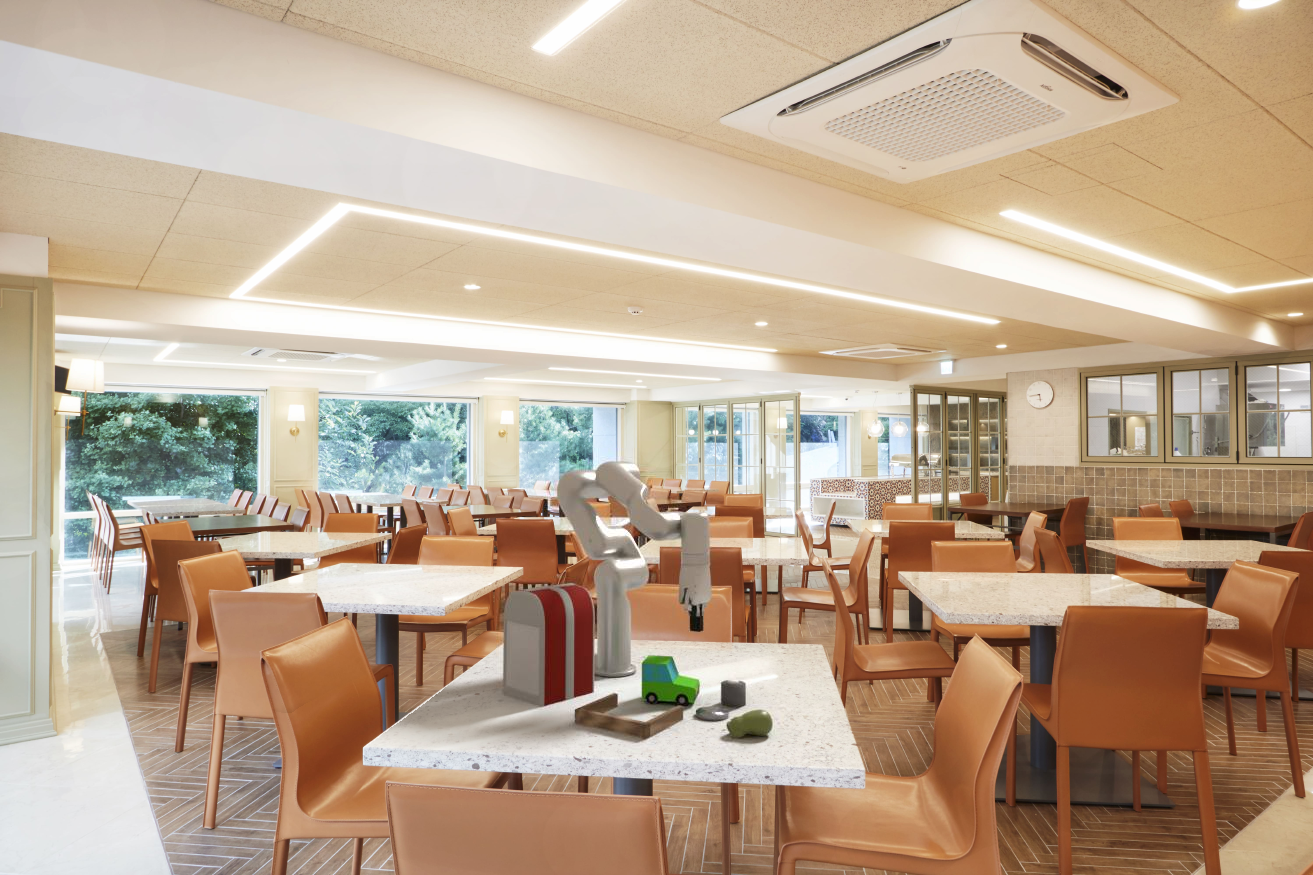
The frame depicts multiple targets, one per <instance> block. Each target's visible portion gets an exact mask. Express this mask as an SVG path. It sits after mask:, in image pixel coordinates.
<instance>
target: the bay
mask: <svg viewBox="0 0 1313 875" xmlns="http://www.w3.org/2000/svg"><path fill="white" fill-rule="evenodd" d="M618 702H619V693H615V692H613V693H611V694H608V695H606V696H603V697H601V698H599V699H596V700H594V701H591V702H588V703H586V704H585V705H582V706H580V707H577V708H574V724H577V725H582V726H587V727H591V728H596V729H601V730H606V731H610V732H614V733H618V734H623V735H627V736H632V737H636V738H642V739H645V740H647V739H649V738H651V737H654V736H655V735H657V734H659V733H661V732H662V731H664V730H666V729H668V728H670V727H672V726H674V725H676V724H678V723H679V722H682V721H683V720H684V706H680V705H678V704H677V706H674V707H672V708H670V709H669V710H667V711H665V712H662V713H661V714H659V715H657V716H655V717H653V718H651V719H649V720H646V721H642V720H637V719H633V718H632V719H631V718H628V717H623V716H617V715H613V714H608V713H606V712H609V711H610V710H613V709H615V708H617V707H618V706H619V703H618Z"/></svg>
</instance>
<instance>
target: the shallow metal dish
mask: <svg viewBox="0 0 1313 875" xmlns="http://www.w3.org/2000/svg"><path fill="white" fill-rule="evenodd" d="M729 711H730V710H728V709H727V708H726V707H725V708H724V707H722V706H714V705H713V706H702V707H699V708H697V709H696V710H695V717H696V718H697V719H699V720H702V721H706V722H707V721H708V722H709V721H710V722H719V721H724V720H727V719H729V716H730V715H729Z"/></svg>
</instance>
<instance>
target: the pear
mask: <svg viewBox="0 0 1313 875" xmlns="http://www.w3.org/2000/svg"><path fill="white" fill-rule="evenodd" d="M773 723H774V722H773V718H772V716H771V714H770V713H769V712H767V711H766V710H764V709H755V710H750V711H748V712H745V713H743V714H742V715H738V716H735V717H733V718H731V719H730V721H727V722H726V724H725V725H726V729H727V732H728V733H729V734H730V736H731V738H732V739H741V738H743V737H744V736H745V735H747V734H749V735H755V736H759V737H765V736H767V735H768V734H770V733H771V732H772V729H773Z"/></svg>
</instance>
